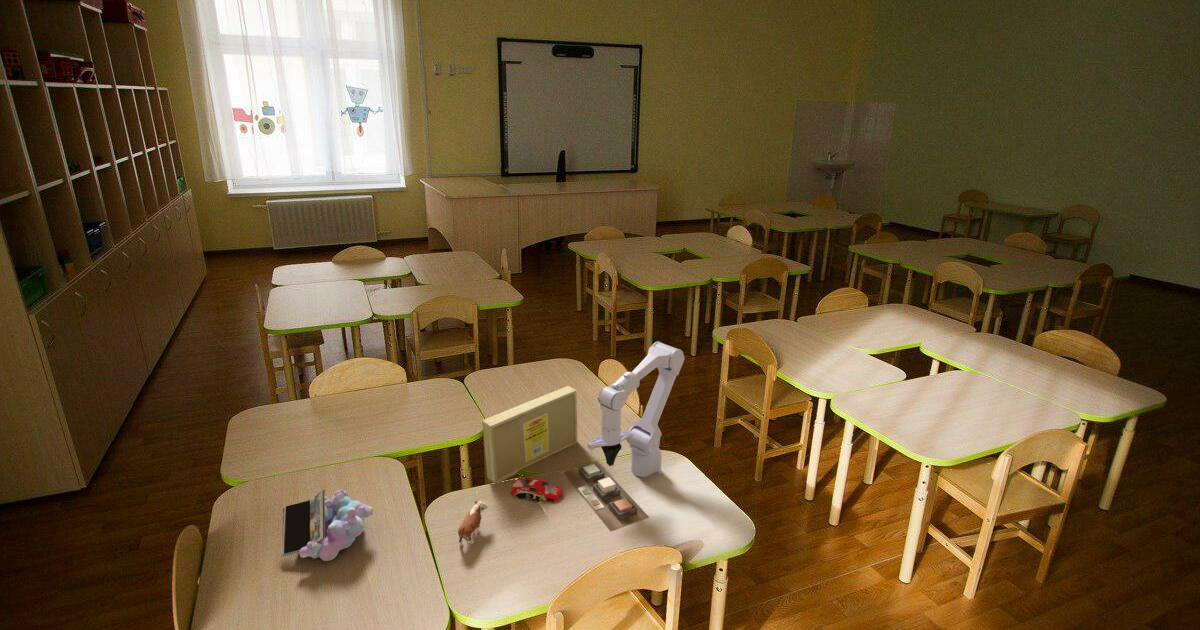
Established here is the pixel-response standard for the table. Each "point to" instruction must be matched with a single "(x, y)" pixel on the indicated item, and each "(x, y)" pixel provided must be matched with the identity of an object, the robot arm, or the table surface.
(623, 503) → the terracotta key
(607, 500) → the keypad
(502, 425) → the beige flat box
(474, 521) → the bull figurine
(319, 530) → the cloud picture frame
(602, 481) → the cream key
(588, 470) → the sage key
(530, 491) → the race car
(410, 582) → the table surface
